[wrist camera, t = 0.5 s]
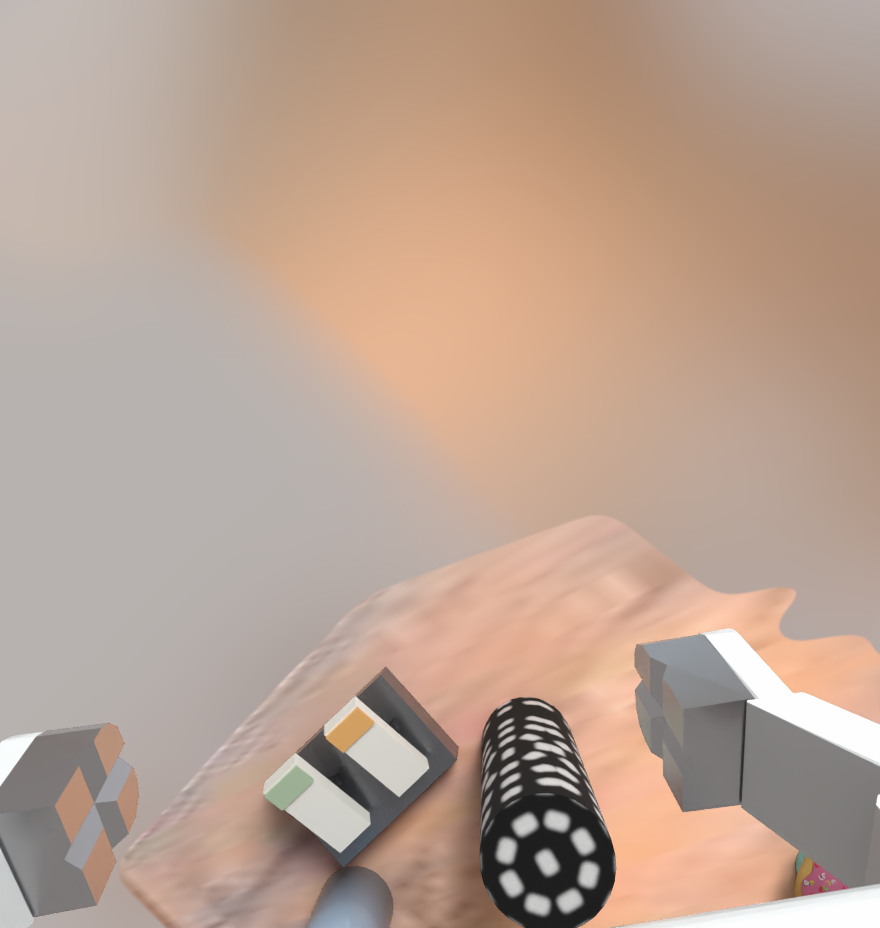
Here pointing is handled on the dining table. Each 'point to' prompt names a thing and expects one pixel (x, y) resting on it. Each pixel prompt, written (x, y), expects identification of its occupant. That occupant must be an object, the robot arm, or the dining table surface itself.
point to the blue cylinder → (353, 901)
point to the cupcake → (814, 878)
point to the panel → (364, 787)
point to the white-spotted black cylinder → (540, 821)
